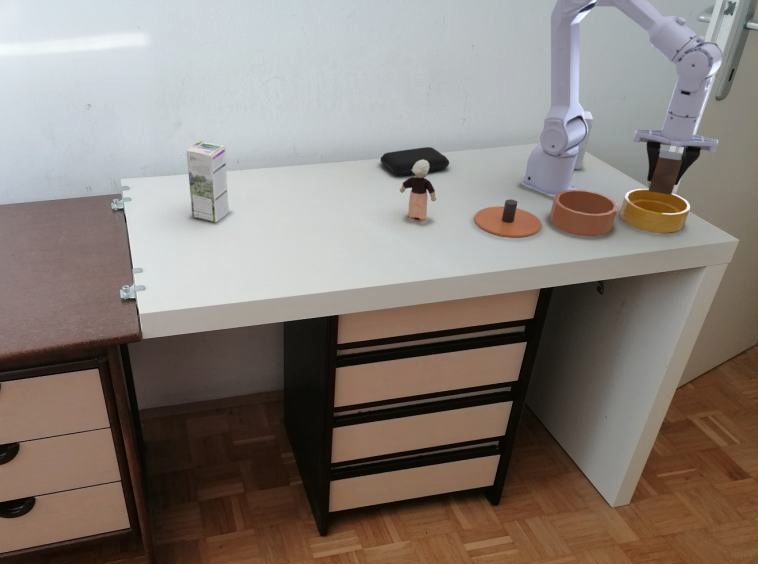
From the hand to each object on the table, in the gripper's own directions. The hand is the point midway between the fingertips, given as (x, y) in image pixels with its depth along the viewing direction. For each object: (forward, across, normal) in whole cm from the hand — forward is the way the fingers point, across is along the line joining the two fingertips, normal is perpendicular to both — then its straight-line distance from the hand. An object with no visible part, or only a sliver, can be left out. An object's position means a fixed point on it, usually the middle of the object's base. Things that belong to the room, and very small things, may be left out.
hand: (661, 181), depth 144 cm
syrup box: (+9, -84, -32) cm, 90 cm away
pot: (+9, -13, -7) cm, 17 cm away
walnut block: (+2, 0, 0) cm, 2 cm away
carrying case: (+9, -52, +10) cm, 54 cm away
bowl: (+9, 0, 0) cm, 9 cm away
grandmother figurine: (+9, -45, -18) cm, 49 cm away
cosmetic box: (+9, -18, +25) cm, 32 cm away
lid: (+8, -27, -13) cm, 31 cm away
